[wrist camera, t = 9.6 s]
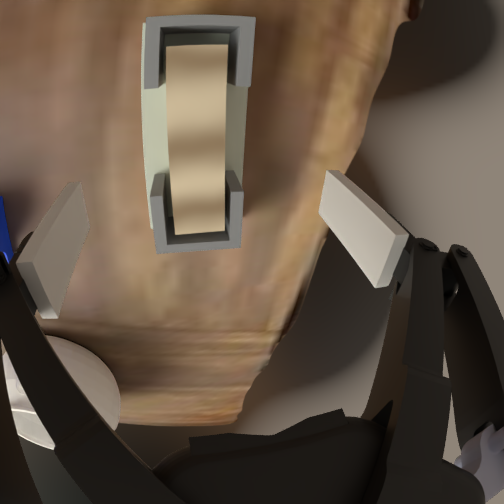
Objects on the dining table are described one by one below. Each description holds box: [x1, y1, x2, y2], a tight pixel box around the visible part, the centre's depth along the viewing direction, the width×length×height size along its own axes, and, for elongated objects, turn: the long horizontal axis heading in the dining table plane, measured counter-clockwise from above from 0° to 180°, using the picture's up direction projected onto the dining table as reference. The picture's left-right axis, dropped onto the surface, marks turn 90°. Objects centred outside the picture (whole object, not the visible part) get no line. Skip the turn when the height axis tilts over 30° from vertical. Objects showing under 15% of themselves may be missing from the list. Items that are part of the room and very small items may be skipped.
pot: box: [3, 335, 121, 450], centre depth 42 cm, size 29×26×16 cm
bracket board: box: [141, 15, 256, 254], centre depth 27 cm, size 24×11×7 cm, turn 176°
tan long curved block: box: [166, 45, 228, 235], centre depth 27 cm, size 18×5×6 cm, turn 177°
